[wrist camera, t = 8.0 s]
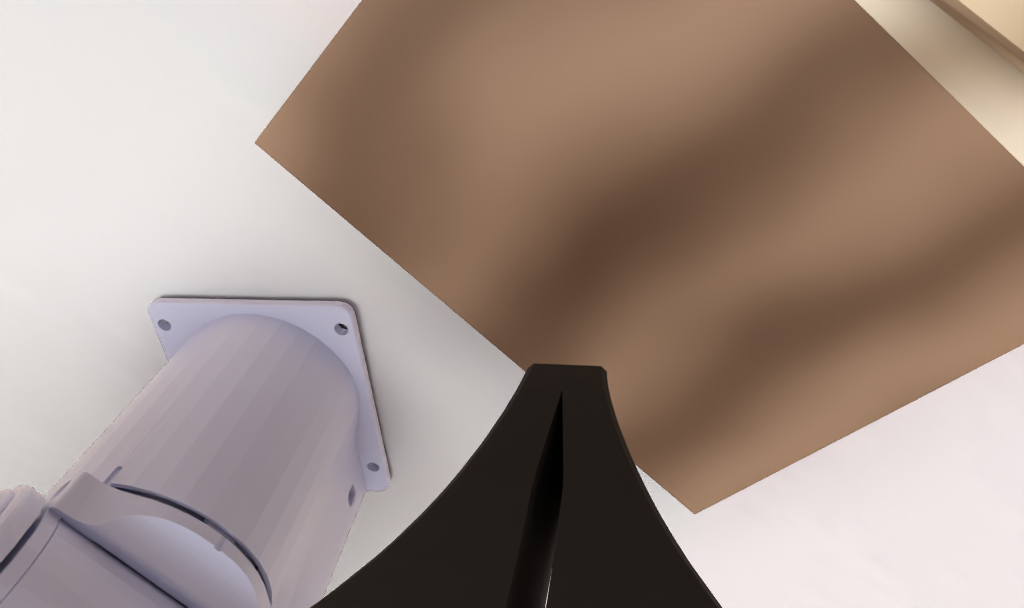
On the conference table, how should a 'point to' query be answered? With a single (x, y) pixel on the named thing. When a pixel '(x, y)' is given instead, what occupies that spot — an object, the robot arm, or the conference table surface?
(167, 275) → the conference table surface
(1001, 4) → the folding leg
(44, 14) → the conference table surface
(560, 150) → the stool seat
